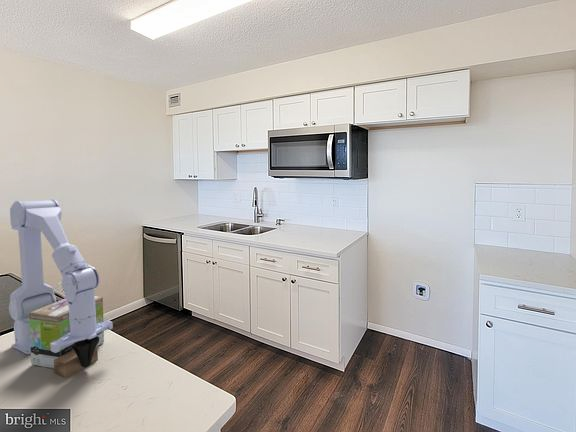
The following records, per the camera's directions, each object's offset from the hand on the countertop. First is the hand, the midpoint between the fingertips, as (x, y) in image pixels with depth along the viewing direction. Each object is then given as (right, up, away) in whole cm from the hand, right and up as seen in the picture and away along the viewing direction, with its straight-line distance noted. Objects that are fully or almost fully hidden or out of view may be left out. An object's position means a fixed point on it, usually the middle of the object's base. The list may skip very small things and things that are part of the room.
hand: (85, 365), depth 84 cm
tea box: (-9, -1, +8) cm, 13 cm away
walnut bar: (-3, -1, +2) cm, 4 cm away
